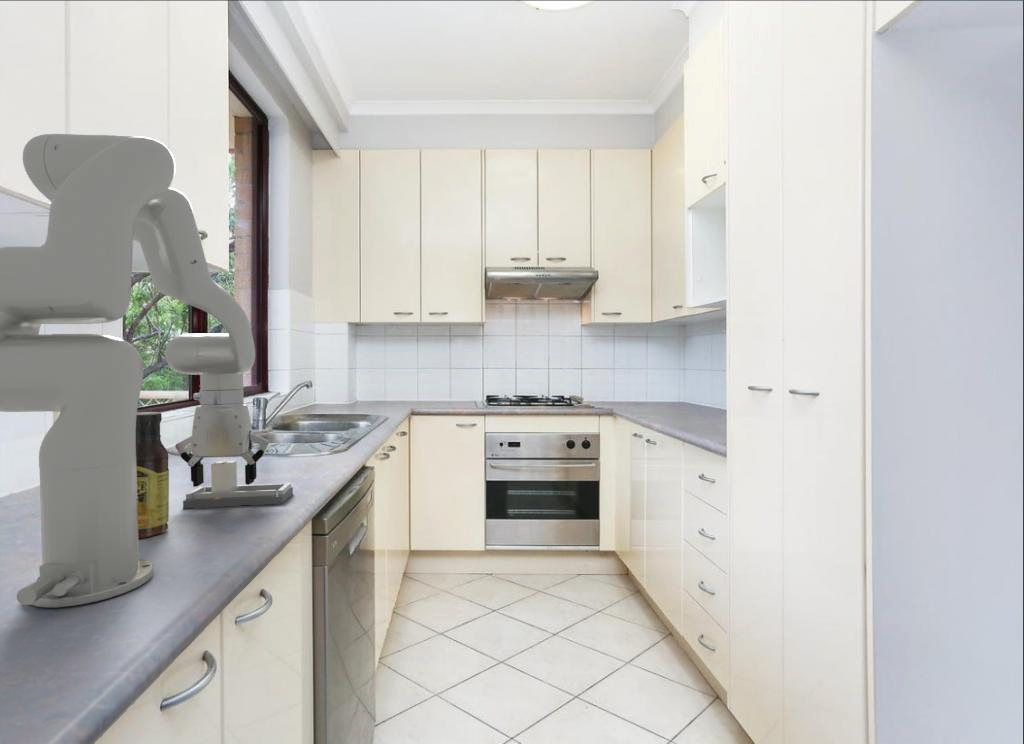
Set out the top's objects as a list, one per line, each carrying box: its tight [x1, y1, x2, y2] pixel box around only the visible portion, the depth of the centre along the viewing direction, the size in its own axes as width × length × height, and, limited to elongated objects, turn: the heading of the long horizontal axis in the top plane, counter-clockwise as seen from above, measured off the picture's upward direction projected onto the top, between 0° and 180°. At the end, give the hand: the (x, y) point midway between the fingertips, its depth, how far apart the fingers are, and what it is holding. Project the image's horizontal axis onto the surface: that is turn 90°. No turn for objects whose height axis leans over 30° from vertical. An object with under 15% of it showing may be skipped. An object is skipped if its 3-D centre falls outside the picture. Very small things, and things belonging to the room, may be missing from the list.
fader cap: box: [210, 460, 238, 492], centre depth 107 cm, size 4×4×6 cm
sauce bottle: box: [136, 411, 170, 539], centre depth 87 cm, size 6×6×20 cm
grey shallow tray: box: [182, 482, 294, 509], centre depth 108 cm, size 8×18×2 cm, turn 98°
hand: (224, 484), depth 107 cm, fingers open, 9 cm apart
